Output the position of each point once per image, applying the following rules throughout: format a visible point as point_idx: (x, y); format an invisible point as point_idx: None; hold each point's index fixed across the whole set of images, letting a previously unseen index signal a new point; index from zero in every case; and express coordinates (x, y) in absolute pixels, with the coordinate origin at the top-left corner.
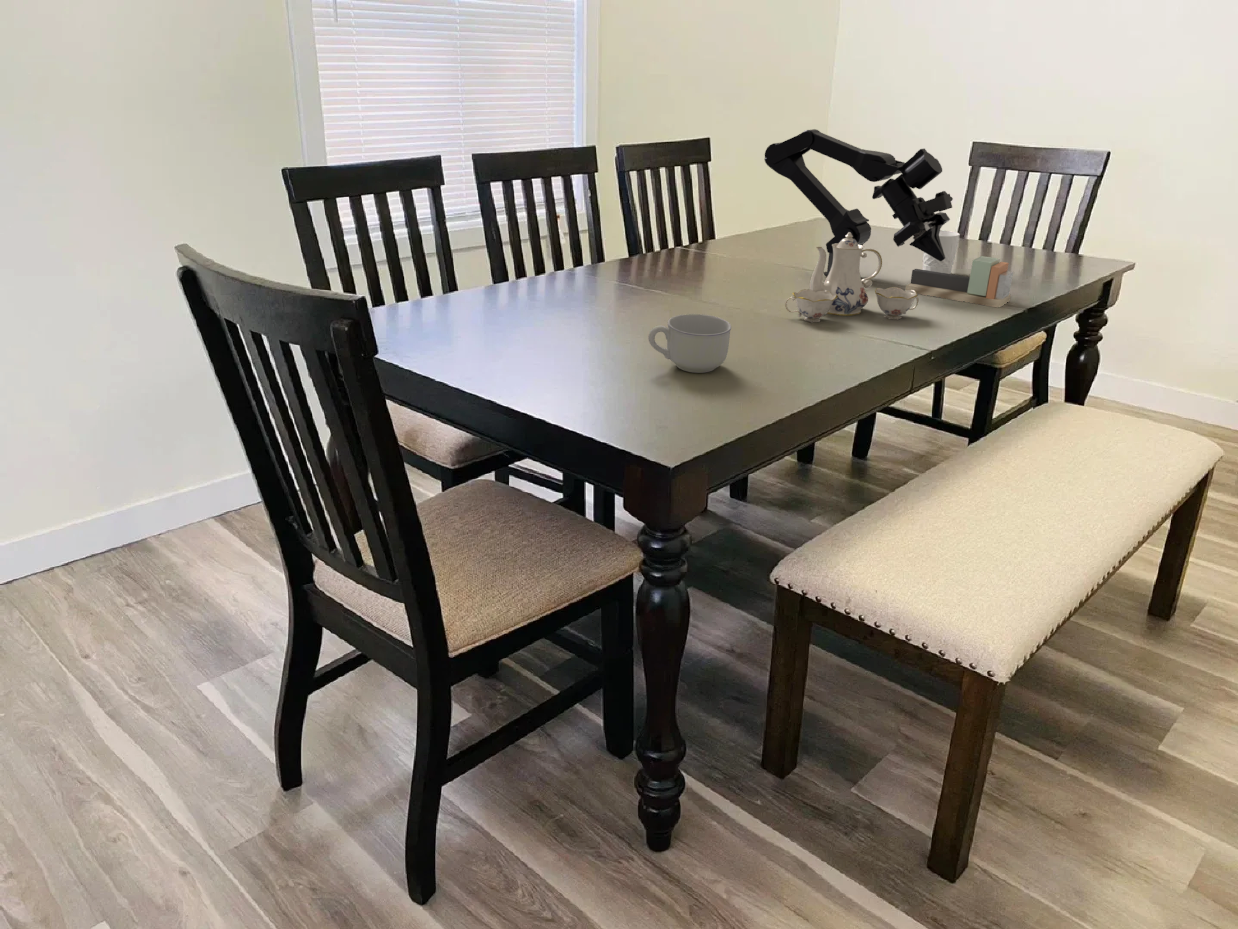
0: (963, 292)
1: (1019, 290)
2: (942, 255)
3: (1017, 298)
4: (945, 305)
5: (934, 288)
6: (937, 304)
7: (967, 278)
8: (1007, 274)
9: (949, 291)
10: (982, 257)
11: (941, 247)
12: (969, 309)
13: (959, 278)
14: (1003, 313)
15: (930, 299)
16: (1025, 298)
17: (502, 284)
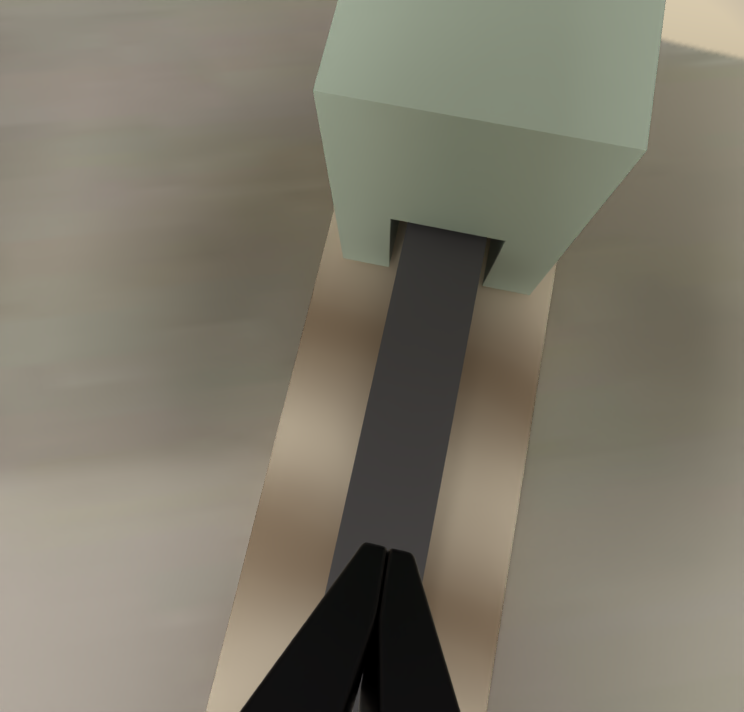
0: (477, 327)
1: (43, 62)
2: (423, 589)
3: (267, 54)
4: (713, 418)
5: (463, 551)
6: (720, 473)
7: (470, 283)
8: None
9: (500, 425)
10: (399, 72)
11: (312, 673)
12: (722, 265)
13: (464, 352)
14: (692, 86)
15: (600, 544)
16: (245, 18)
17: None
